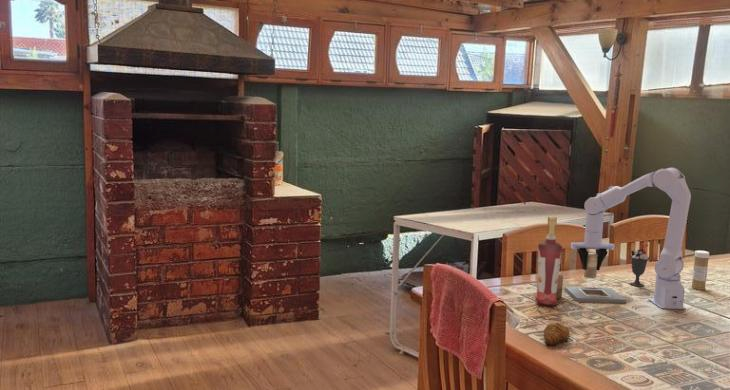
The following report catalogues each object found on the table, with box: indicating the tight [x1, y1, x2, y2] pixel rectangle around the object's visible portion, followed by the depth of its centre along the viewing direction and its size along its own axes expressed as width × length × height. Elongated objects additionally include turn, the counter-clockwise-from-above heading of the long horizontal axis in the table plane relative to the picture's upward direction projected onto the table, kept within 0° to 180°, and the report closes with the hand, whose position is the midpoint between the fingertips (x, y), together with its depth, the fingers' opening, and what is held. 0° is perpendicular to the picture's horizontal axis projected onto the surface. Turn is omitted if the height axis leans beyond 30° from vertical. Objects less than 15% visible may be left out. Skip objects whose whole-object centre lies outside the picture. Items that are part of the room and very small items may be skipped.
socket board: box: [564, 286, 627, 304], centre depth 213 cm, size 13×16×1 cm
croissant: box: [543, 322, 570, 347], centre depth 172 cm, size 14×7×5 cm, turn 146°
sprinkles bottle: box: [691, 249, 710, 291], centre depth 227 cm, size 5×5×13 cm
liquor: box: [534, 216, 563, 307], centre depth 202 cm, size 7×7×28 cm
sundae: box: [629, 244, 651, 288], centre depth 228 cm, size 7×7×15 cm
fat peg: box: [556, 273, 564, 299], centre depth 213 cm, size 7×7×7 cm
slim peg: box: [583, 252, 598, 279], centre depth 223 cm, size 4×4×8 cm
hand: (590, 269), depth 223 cm, fingers closed on slim peg, 4 cm apart
